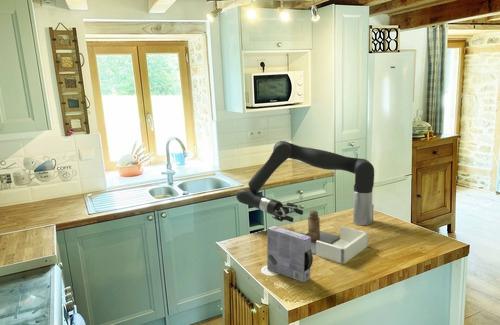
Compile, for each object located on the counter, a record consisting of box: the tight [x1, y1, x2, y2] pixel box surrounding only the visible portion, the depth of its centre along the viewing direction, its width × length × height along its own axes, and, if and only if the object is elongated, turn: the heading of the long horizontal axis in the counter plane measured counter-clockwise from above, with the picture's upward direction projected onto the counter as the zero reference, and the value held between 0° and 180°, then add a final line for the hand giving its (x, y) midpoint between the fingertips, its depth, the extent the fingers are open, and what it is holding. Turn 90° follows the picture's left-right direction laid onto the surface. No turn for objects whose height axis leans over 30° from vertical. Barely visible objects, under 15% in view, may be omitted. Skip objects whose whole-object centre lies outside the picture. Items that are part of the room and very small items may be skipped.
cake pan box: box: [266, 225, 314, 284], centre depth 145 cm, size 19×5×18 cm, turn 48°
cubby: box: [315, 225, 369, 265], centre depth 163 cm, size 21×13×7 cm, turn 137°
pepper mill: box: [307, 210, 321, 243], centre depth 172 cm, size 5×5×14 cm
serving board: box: [305, 230, 340, 256], centre depth 173 cm, size 22×14×1 cm, turn 137°
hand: (297, 216), depth 178 cm, fingers open, 8 cm apart
